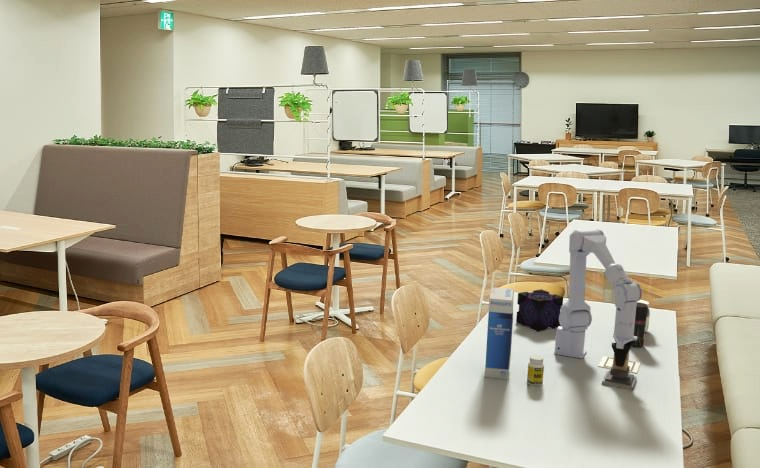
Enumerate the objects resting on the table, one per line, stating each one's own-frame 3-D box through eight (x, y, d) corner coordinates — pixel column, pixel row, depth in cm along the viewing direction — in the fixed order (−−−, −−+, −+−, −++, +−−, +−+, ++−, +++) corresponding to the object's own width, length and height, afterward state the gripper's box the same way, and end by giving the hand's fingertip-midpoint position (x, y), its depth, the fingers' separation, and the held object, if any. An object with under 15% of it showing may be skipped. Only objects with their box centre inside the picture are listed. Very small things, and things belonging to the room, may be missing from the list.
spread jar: (643, 337, 266) (646, 307, 263) (612, 331, 272) (615, 301, 269) (651, 328, 276) (654, 299, 273) (621, 323, 282) (624, 294, 279)
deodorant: (644, 348, 254) (648, 307, 251) (627, 346, 255) (631, 306, 252) (642, 342, 260) (646, 302, 257) (625, 341, 261) (628, 301, 258)
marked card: (598, 366, 236) (598, 365, 236) (603, 356, 245) (603, 355, 245) (636, 373, 231) (636, 372, 231) (640, 363, 240) (640, 362, 240)
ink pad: (601, 384, 222) (602, 378, 221) (606, 374, 230) (607, 369, 229) (632, 389, 218) (632, 384, 218) (636, 379, 226) (636, 374, 226)
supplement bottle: (533, 387, 218) (535, 361, 217) (523, 381, 222) (525, 356, 221) (545, 384, 220) (547, 358, 219) (535, 379, 224) (537, 353, 223)
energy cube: (561, 327, 275) (563, 297, 273) (537, 331, 269) (539, 301, 267) (539, 318, 285) (541, 289, 283) (516, 322, 279) (518, 293, 277)
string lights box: (487, 362, 238) (491, 286, 232) (510, 364, 236) (515, 288, 231) (484, 377, 225) (488, 298, 220) (509, 380, 223) (514, 300, 218)
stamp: (610, 374, 222) (612, 350, 221) (612, 369, 227) (614, 345, 225) (627, 377, 220) (629, 353, 218) (629, 372, 224) (631, 347, 223)
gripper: (635, 330, 212) (631, 374, 215) (641, 317, 225) (637, 358, 227) (610, 326, 215) (606, 369, 218) (617, 313, 228) (614, 354, 230)
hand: (620, 363), depth 223 cm, fingers closed on stamp, 4 cm apart
